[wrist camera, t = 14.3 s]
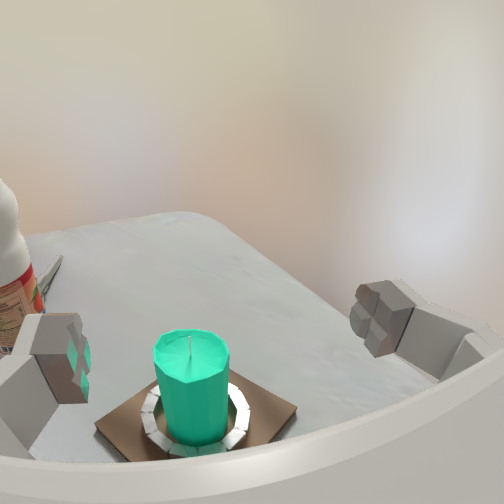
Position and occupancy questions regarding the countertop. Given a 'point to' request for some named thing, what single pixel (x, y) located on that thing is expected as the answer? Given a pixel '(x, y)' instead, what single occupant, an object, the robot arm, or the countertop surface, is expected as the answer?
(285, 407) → the ring board
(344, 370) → the countertop surface
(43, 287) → the caliper
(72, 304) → the countertop surface
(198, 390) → the candle
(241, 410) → the ring collar
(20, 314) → the fruit juice
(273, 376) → the countertop surface
